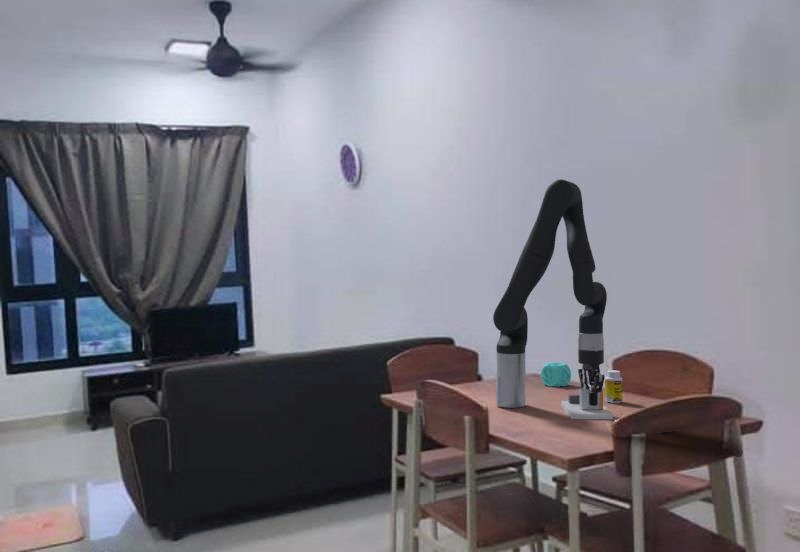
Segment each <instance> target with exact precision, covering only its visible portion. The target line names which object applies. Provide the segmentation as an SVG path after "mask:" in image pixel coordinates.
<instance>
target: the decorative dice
mask: <svg viewBox="0 0 800 552" xmlns="http://www.w3.org/2000/svg"><path fill="white" fill-rule="evenodd" d="M540 376H541V380H542V383H543V384H544V385H545V386H546V385H547V386H546V387H550V386H554V387H553V388H561V387H560V386H565V387H567V386H568V385H569V384H570V382H571V378H572V372H571V368H570V366H568V364H567V363H565V362H546V363H544V365H543V366H542V367H541V371H540Z"/></svg>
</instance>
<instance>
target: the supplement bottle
mask: <svg viewBox="0 0 800 552" xmlns="http://www.w3.org/2000/svg"><path fill="white" fill-rule="evenodd" d="M606 373H607V376H605V378H604V401H605V402H606V403H608V402H610V403H609V404H621V403H622V402H623V377H622V376H621V371H620V370H614V369H613V370H607V372H606ZM620 402H621V403H620Z"/></svg>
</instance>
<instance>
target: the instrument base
mask: <svg viewBox="0 0 800 552" xmlns="http://www.w3.org/2000/svg"><path fill="white" fill-rule="evenodd" d="M567 395H568V397H567V399H568V400H561V401H560V404H561V407H562V409H563V410H564V411H565V412H566V413H567V415H568V416H569V418H570V419H571V420H614V414H613V412H612V411H610V410H609V409H608V408H607V407H606V406H605V405H604V404H603V410H600V409H595V410H582V409H580V394H567Z"/></svg>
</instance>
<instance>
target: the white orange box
mask: <svg viewBox="0 0 800 552" xmlns="http://www.w3.org/2000/svg"><path fill="white" fill-rule="evenodd" d="M579 395H580V409H582V410H595V409H600V410H603V405H604V389H603V388H602V392H599V393H598V404H597V406H591V405H590V388H579Z"/></svg>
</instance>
